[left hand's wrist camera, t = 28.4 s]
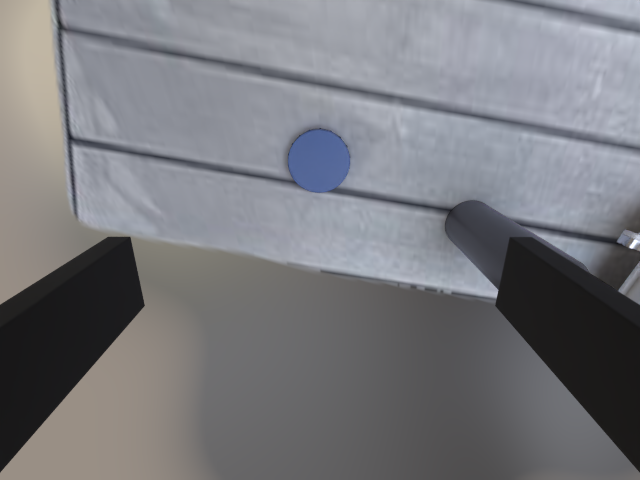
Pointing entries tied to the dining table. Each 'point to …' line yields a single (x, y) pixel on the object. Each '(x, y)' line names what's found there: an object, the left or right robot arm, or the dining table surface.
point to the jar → (488, 237)
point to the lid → (318, 160)
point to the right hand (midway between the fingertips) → (597, 277)
